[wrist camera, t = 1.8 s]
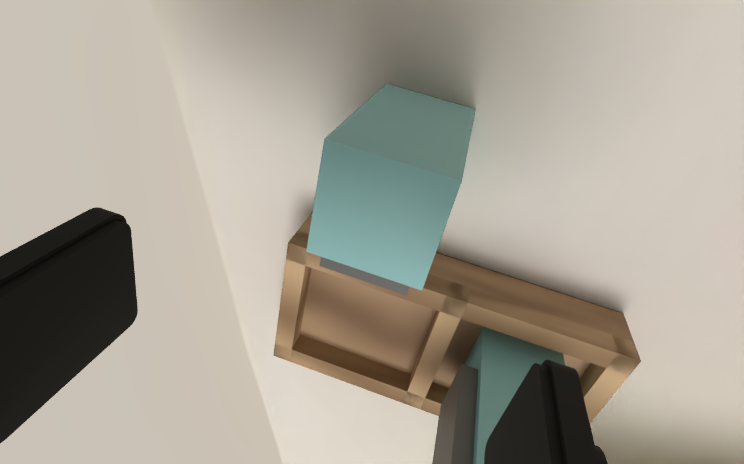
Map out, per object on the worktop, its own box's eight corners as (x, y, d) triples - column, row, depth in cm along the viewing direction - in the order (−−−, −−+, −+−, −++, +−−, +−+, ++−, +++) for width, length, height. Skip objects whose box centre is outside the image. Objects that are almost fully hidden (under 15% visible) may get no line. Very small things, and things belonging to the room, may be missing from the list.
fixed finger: (467, 321, 22) (452, 474, 15) (563, 353, 21) (592, 527, 14) (443, 373, 24) (421, 527, 17) (529, 403, 23) (541, 575, 16)
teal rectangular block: (364, 180, 21) (303, 270, 15) (386, 83, 19) (324, 138, 12) (442, 205, 21) (415, 308, 14) (475, 109, 18) (461, 180, 12)
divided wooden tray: (313, 212, 23) (288, 242, 20) (623, 313, 21) (641, 361, 19) (295, 318, 27) (273, 355, 25) (553, 410, 26) (559, 460, 23)
